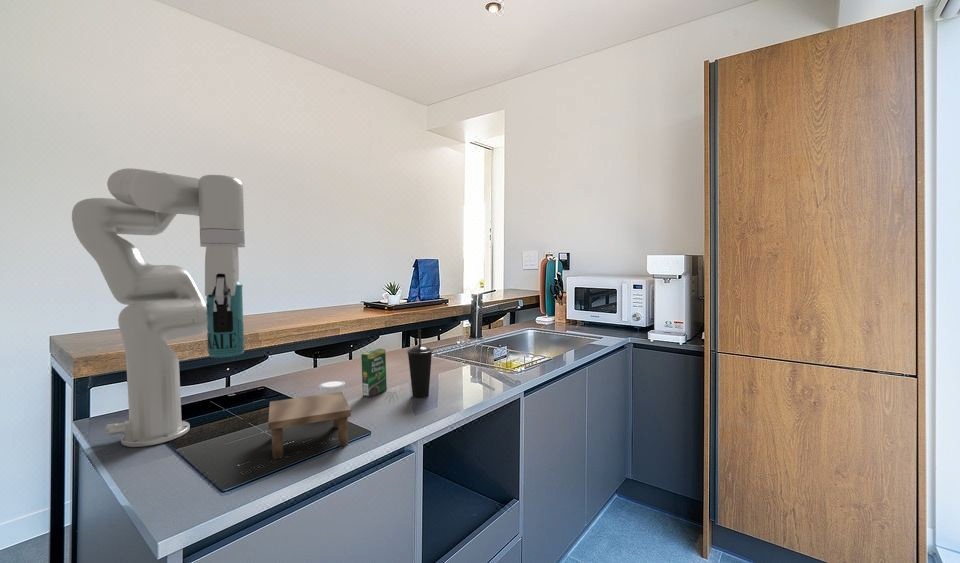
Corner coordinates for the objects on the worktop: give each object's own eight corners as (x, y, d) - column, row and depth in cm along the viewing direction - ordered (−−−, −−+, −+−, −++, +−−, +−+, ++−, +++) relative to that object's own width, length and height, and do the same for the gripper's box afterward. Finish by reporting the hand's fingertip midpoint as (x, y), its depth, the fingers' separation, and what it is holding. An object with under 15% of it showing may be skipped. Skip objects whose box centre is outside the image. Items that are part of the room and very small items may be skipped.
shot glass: (337, 414, 109) (337, 388, 109) (314, 412, 111) (313, 386, 111) (350, 405, 116) (350, 380, 116) (328, 403, 118) (327, 379, 117)
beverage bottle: (237, 356, 88) (235, 261, 87) (251, 360, 84) (248, 262, 83) (202, 361, 83) (199, 262, 82) (214, 367, 79) (211, 262, 78)
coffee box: (368, 398, 122) (367, 354, 121) (361, 396, 124) (360, 353, 123) (387, 390, 129) (386, 349, 128) (380, 389, 131) (379, 348, 130)
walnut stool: (269, 461, 84) (268, 422, 83) (270, 435, 96) (269, 401, 96) (351, 445, 91) (350, 409, 90) (342, 423, 103) (341, 391, 103)
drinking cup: (403, 398, 122) (402, 330, 121) (413, 390, 129) (412, 326, 128) (428, 400, 120) (427, 331, 119) (436, 392, 127) (436, 327, 126)
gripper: (207, 241, 88) (210, 324, 89) (191, 237, 73) (195, 338, 74) (247, 241, 91) (249, 322, 92) (240, 238, 76) (243, 334, 77)
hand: (225, 328), depth 83 cm, fingers closed on beverage bottle, 6 cm apart
